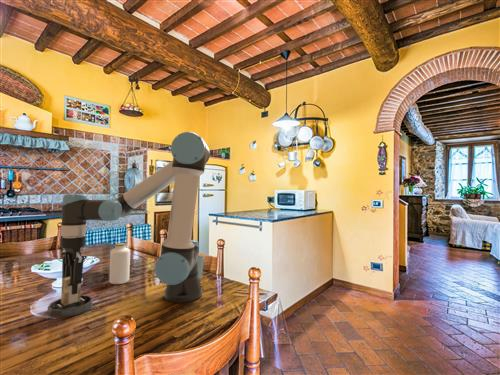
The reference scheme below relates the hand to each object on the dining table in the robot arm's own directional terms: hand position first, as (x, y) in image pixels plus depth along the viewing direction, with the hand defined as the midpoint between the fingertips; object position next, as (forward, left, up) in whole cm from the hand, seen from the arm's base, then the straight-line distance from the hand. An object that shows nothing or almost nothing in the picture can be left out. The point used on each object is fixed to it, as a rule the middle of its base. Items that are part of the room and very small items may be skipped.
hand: (70, 301), depth 93 cm
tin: (0, 0, -3) cm, 3 cm away
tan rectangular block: (0, 0, 0) cm, 0 cm away
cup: (-10, -51, -3) cm, 52 cm away
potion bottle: (+14, -25, -3) cm, 29 cm away
